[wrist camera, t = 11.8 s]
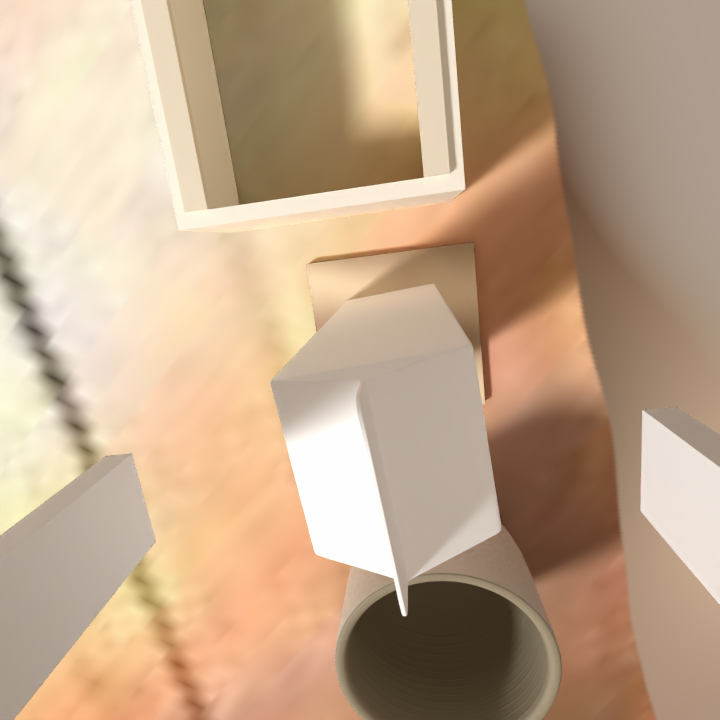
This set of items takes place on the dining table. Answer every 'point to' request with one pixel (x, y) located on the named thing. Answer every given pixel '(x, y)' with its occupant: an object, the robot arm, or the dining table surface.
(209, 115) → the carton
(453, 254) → the mat
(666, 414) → the robot arm
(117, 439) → the dining table surface
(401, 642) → the planter
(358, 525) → the milk
